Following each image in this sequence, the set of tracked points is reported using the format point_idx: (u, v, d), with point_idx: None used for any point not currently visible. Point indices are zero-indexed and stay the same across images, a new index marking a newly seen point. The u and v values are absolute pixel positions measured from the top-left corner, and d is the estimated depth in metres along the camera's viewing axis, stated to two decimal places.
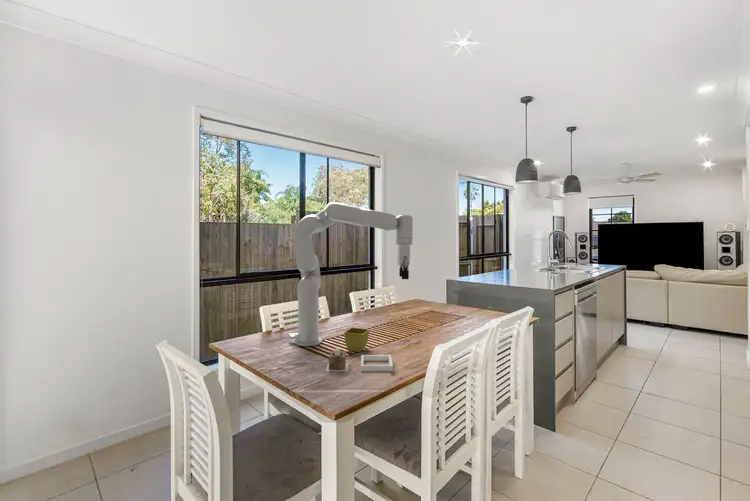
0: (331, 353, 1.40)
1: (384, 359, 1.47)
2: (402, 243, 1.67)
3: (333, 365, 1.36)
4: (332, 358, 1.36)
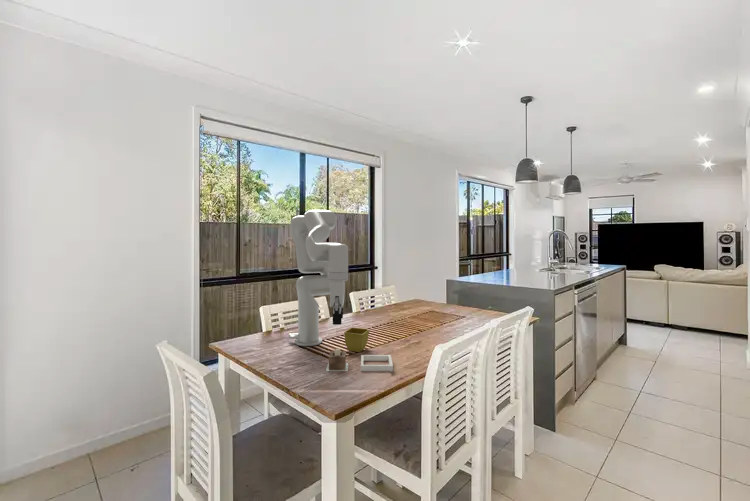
0: (331, 353, 1.40)
1: (384, 359, 1.47)
2: (334, 279, 1.34)
3: (333, 365, 1.36)
4: (332, 358, 1.36)
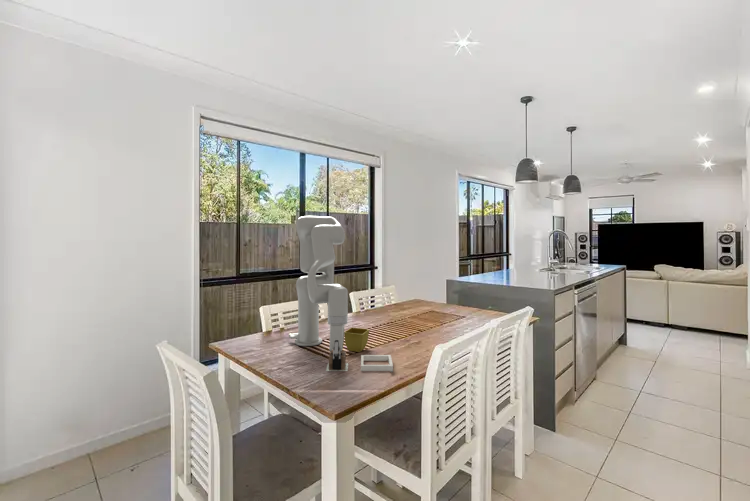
0: (331, 353, 1.40)
1: (384, 359, 1.47)
2: (333, 323, 1.35)
3: None
4: (332, 358, 1.36)
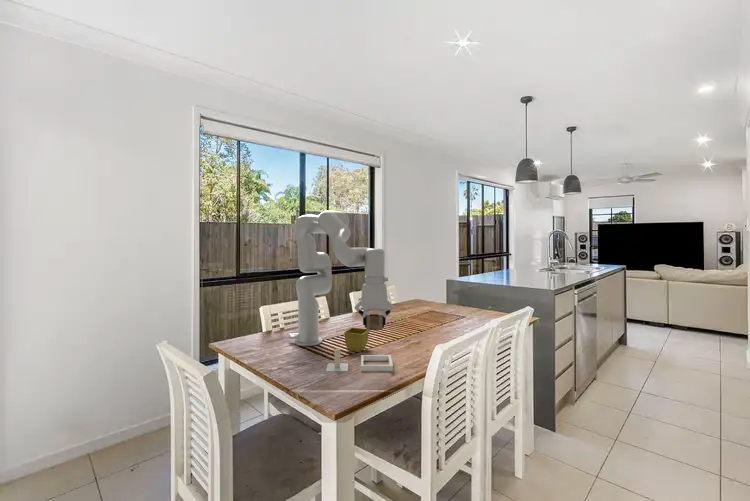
0: None
1: (384, 359, 1.47)
2: None
3: None
4: (366, 315, 1.42)
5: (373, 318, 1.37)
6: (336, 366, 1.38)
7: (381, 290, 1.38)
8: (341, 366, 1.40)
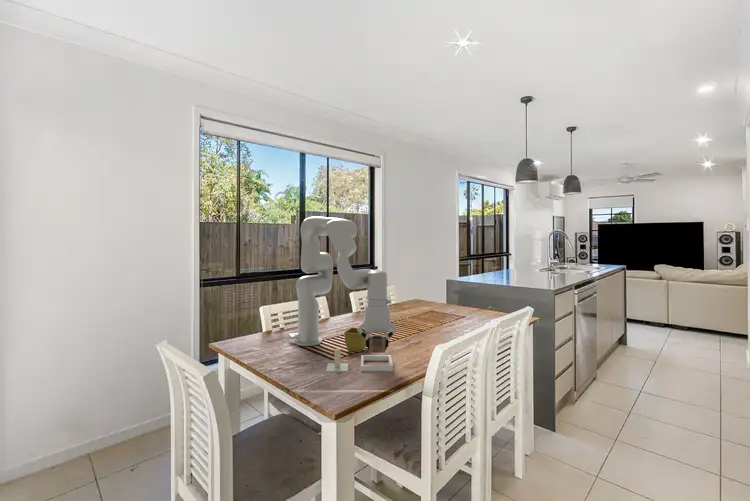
0: (378, 335, 1.43)
1: (384, 359, 1.47)
2: None
3: None
4: (369, 337, 1.43)
5: (376, 340, 1.38)
6: (336, 366, 1.38)
7: (384, 313, 1.38)
8: (341, 366, 1.40)
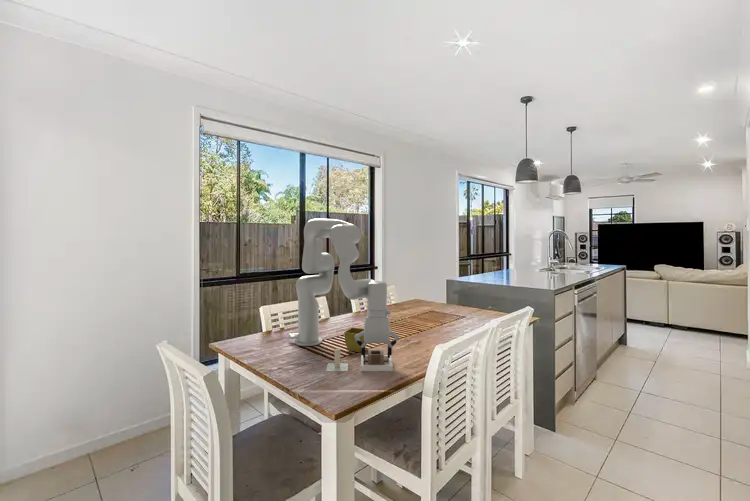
0: (377, 350, 1.44)
1: (384, 359, 1.47)
2: None
3: None
4: None
5: (374, 356, 1.39)
6: (336, 366, 1.38)
7: (383, 323, 1.39)
8: (341, 366, 1.40)
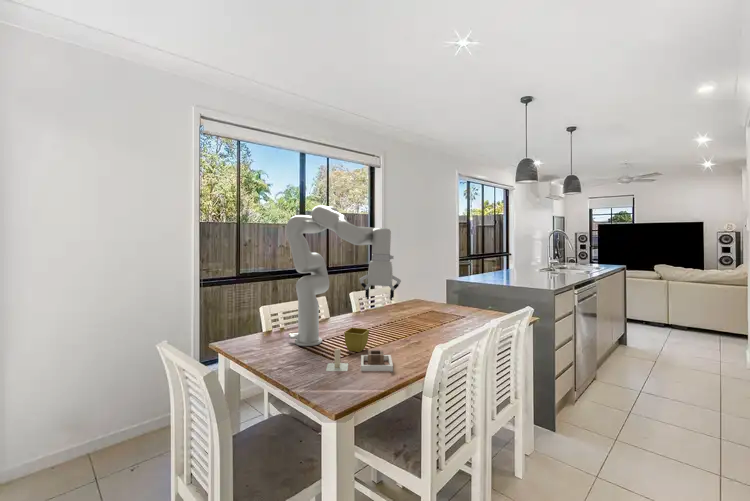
0: (377, 350, 1.44)
1: (384, 359, 1.47)
2: None
3: None
4: None
5: (374, 356, 1.39)
6: (336, 366, 1.38)
7: (386, 267, 1.48)
8: (341, 366, 1.40)
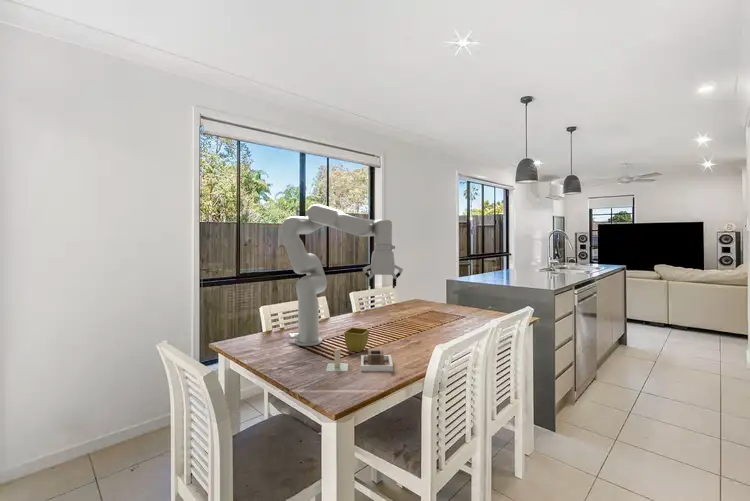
0: (377, 350, 1.44)
1: (384, 359, 1.47)
2: None
3: None
4: None
5: (374, 356, 1.39)
6: (336, 366, 1.38)
7: (389, 256, 1.55)
8: (341, 366, 1.40)
